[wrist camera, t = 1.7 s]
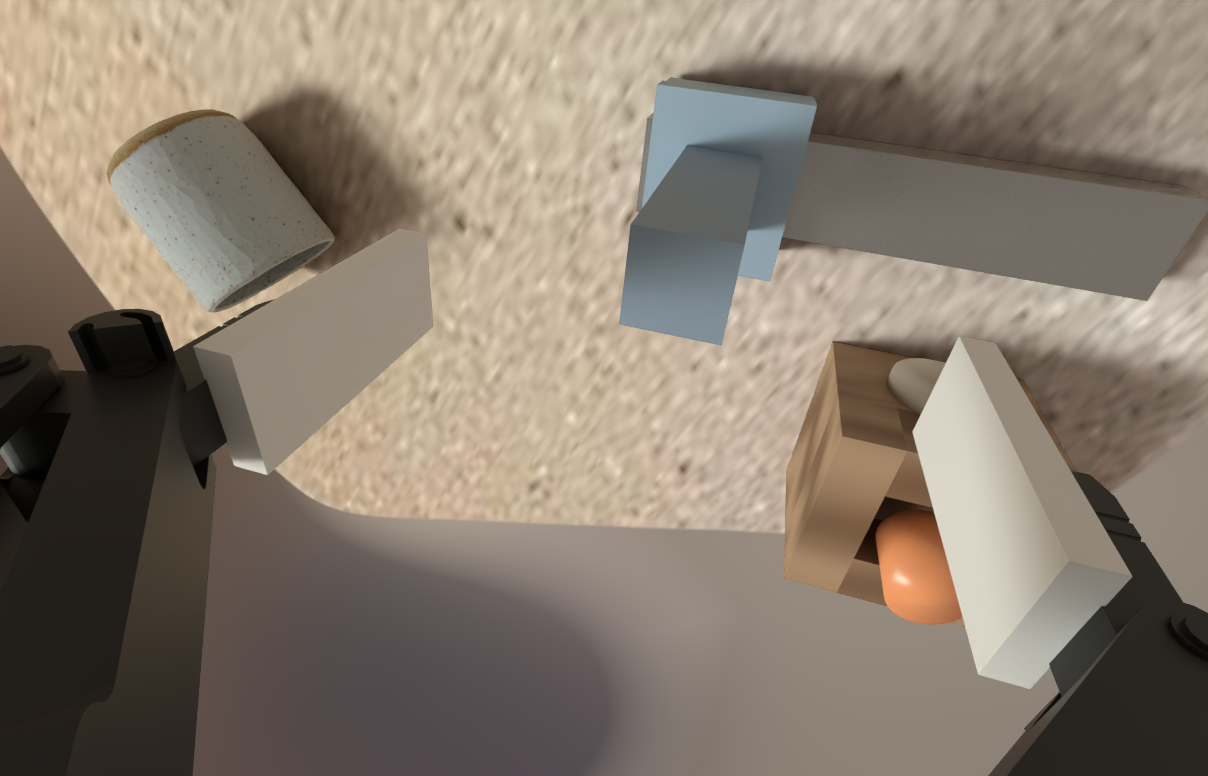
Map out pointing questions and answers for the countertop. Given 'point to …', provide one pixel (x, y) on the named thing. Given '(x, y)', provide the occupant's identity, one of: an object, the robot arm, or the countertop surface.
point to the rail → (988, 214)
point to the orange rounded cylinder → (916, 569)
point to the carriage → (711, 202)
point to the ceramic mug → (216, 206)
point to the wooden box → (859, 467)
